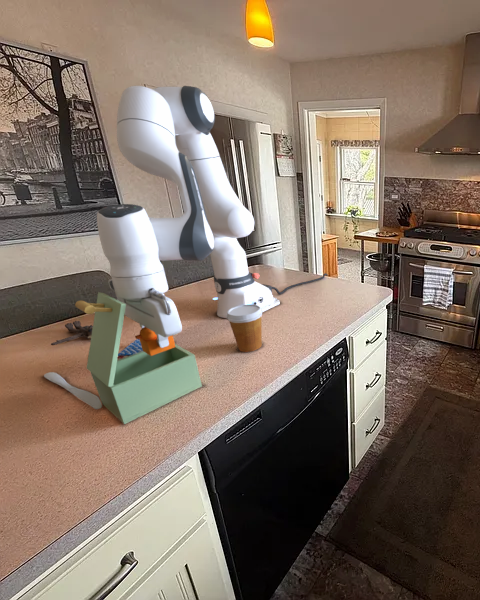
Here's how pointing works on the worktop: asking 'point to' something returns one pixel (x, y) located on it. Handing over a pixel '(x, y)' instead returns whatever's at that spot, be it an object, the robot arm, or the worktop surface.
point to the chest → (148, 382)
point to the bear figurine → (81, 330)
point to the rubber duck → (152, 342)
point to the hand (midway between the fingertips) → (157, 342)
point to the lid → (104, 336)
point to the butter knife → (75, 390)
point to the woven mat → (131, 349)
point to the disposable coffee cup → (246, 326)
